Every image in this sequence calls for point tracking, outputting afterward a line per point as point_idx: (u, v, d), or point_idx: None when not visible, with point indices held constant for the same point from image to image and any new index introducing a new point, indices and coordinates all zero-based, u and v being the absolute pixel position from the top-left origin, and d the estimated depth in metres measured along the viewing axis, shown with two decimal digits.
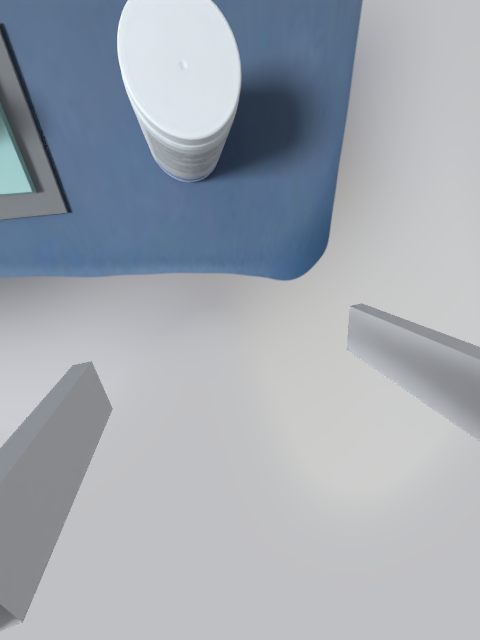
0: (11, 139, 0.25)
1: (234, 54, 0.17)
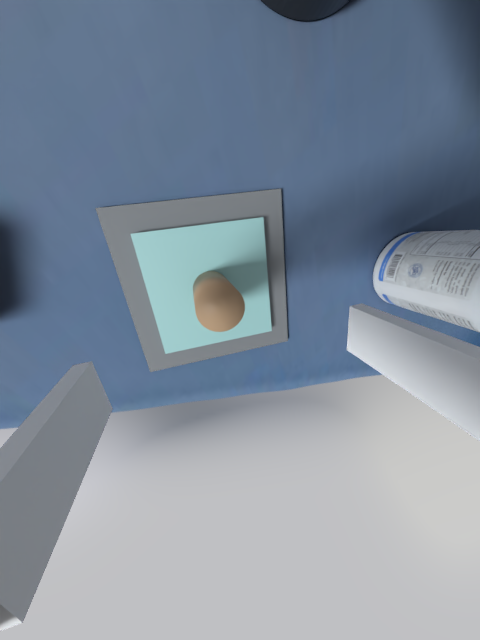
0: (268, 289, 0.26)
1: None
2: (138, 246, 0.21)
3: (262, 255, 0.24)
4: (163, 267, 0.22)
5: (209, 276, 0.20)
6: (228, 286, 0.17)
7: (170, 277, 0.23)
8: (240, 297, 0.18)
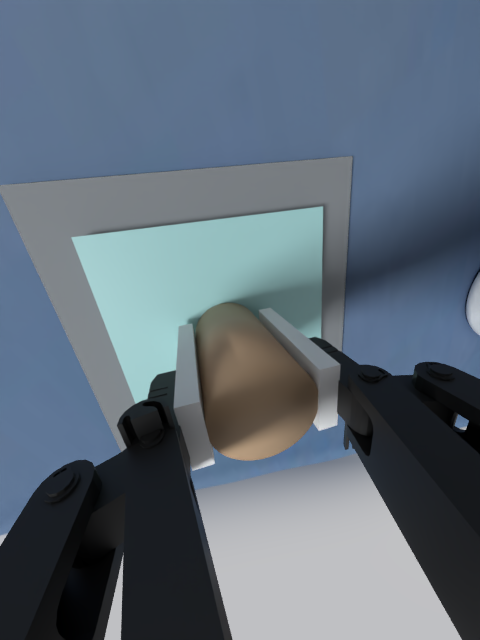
0: None
1: None
2: (88, 261, 0.11)
3: (315, 273, 0.14)
4: (140, 299, 0.12)
5: (229, 322, 0.10)
6: (287, 367, 0.07)
7: (153, 317, 0.12)
8: (311, 387, 0.07)
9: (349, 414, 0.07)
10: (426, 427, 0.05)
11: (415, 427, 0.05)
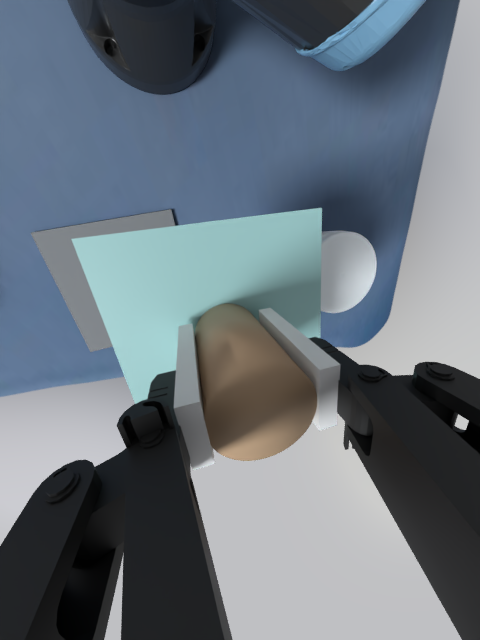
0: None
1: (373, 261, 0.25)
2: (88, 263, 0.11)
3: (314, 274, 0.14)
4: (140, 300, 0.12)
5: (228, 323, 0.10)
6: (285, 368, 0.07)
7: (153, 318, 0.12)
8: (309, 388, 0.07)
9: (349, 414, 0.07)
10: (426, 427, 0.05)
11: (415, 427, 0.05)
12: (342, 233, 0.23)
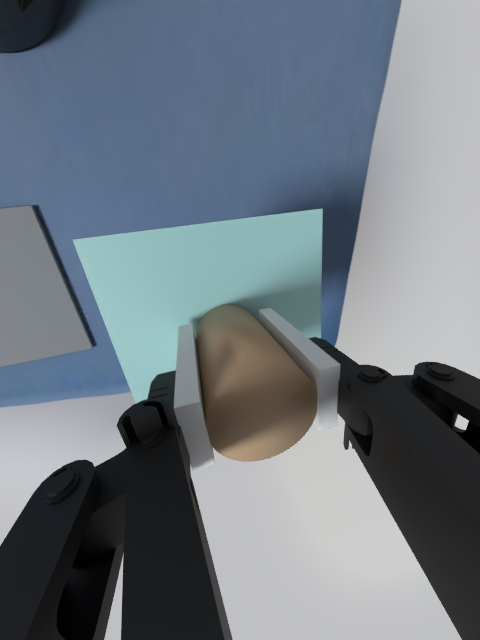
0: None
1: None
2: (89, 263, 0.11)
3: (315, 275, 0.14)
4: (141, 301, 0.12)
5: (229, 323, 0.10)
6: (286, 369, 0.07)
7: (154, 318, 0.12)
8: (310, 389, 0.08)
9: (349, 414, 0.07)
10: (426, 427, 0.05)
11: (415, 427, 0.05)
12: None
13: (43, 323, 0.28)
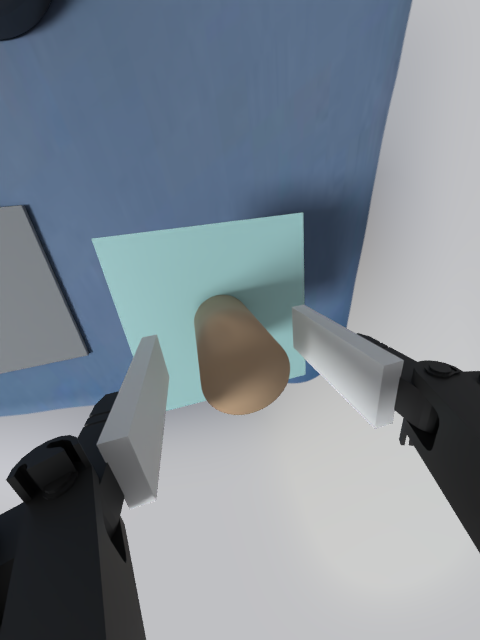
0: None
1: None
2: (105, 258, 0.13)
3: (298, 270, 0.16)
4: (148, 291, 0.14)
5: (222, 309, 0.12)
6: (263, 339, 0.09)
7: (158, 306, 0.15)
8: (283, 356, 0.10)
9: (410, 409, 0.07)
10: None
11: None
12: None
13: (35, 329, 0.27)
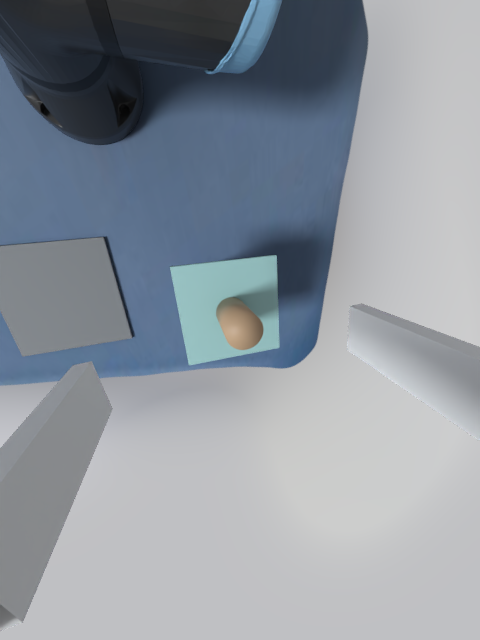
0: (277, 313, 0.30)
1: None
2: (175, 276, 0.26)
3: (274, 285, 0.29)
4: (193, 293, 0.27)
5: (233, 303, 0.25)
6: (251, 314, 0.22)
7: (198, 302, 0.27)
8: (260, 323, 0.22)
9: None
10: None
11: None
12: None
13: (100, 318, 0.39)
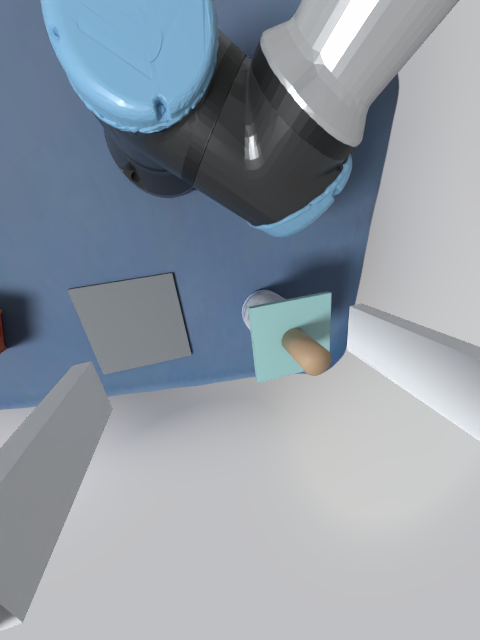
0: None
1: None
2: (252, 315, 0.32)
3: (328, 316, 0.35)
4: (265, 327, 0.33)
5: (301, 336, 0.31)
6: (324, 349, 0.28)
7: (268, 333, 0.33)
8: (329, 355, 0.29)
9: None
10: None
11: None
12: None
13: (166, 340, 0.46)
